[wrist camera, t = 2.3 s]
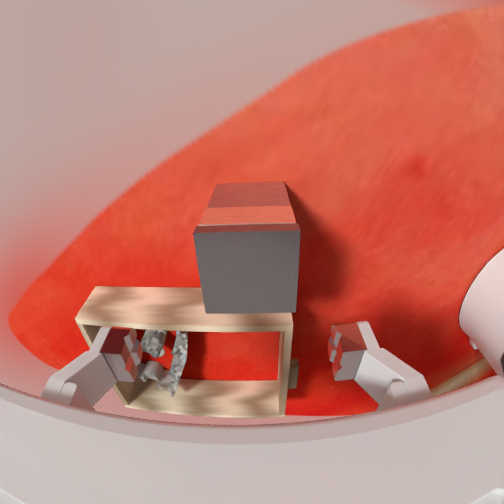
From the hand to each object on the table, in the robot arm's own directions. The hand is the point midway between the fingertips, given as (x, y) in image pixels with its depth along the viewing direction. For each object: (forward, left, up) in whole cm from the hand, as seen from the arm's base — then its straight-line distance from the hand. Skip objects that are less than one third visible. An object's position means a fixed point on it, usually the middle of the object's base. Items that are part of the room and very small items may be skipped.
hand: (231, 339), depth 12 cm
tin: (-1, 0, -13) cm, 13 cm away
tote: (+6, +15, -13) cm, 20 cm away
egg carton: (+11, +14, -14) cm, 22 cm away
